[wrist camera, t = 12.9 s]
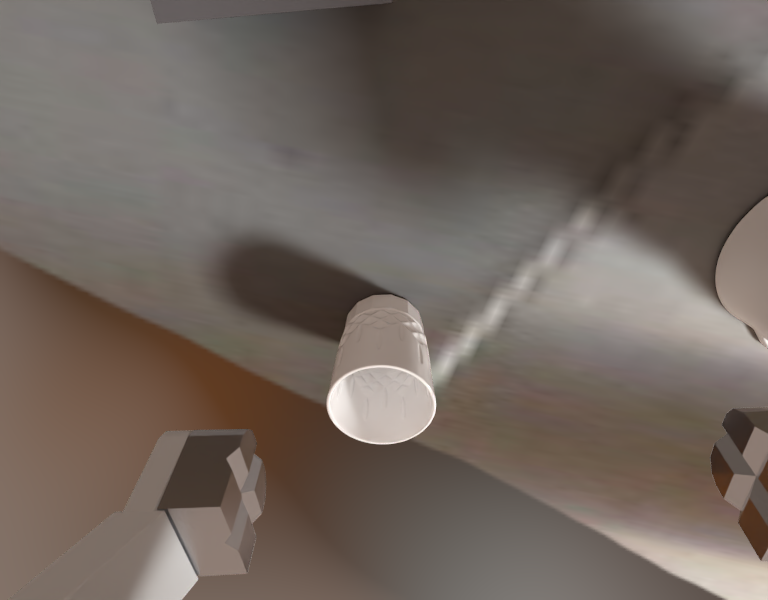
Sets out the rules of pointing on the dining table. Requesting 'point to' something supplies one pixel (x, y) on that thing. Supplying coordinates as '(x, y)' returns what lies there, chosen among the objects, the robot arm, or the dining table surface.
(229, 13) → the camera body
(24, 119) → the dining table surface
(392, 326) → the white cup
